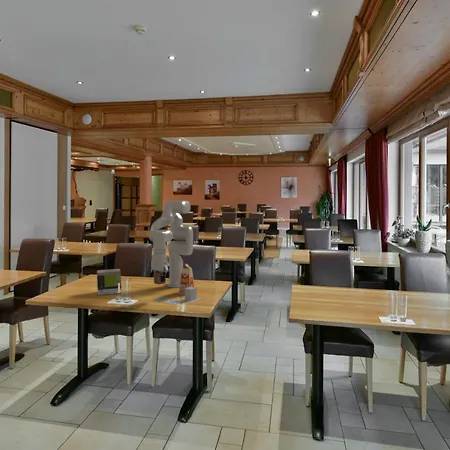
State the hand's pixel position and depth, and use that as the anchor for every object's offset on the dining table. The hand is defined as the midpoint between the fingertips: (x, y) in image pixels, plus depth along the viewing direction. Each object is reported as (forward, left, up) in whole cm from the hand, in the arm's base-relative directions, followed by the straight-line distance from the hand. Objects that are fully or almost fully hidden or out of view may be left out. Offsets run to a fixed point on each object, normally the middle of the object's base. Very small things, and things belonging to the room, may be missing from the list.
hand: (159, 281), depth 242 cm
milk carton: (-1, +23, -12) cm, 26 cm away
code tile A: (+9, +3, -12) cm, 15 cm away
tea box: (-41, -9, -12) cm, 44 cm away
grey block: (+13, +13, -12) cm, 22 cm away
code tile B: (+13, +13, -12) cm, 22 cm away
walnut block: (0, 0, -1) cm, 1 cm away
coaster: (0, 0, -12) cm, 12 cm away
